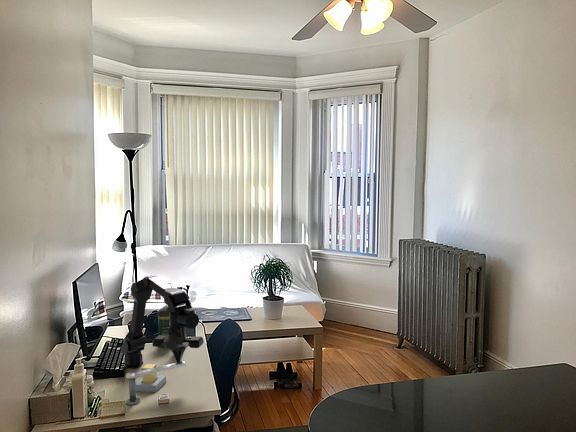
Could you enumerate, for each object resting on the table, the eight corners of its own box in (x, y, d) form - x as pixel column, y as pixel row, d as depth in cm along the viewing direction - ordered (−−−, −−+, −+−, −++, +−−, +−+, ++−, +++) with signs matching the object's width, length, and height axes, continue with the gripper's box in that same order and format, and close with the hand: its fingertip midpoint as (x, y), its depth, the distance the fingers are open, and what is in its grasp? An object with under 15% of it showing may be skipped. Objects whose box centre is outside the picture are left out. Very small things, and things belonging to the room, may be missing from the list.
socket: (133, 390, 188) (132, 384, 188) (144, 380, 197) (143, 374, 197) (156, 391, 186) (155, 385, 186) (166, 381, 196) (165, 375, 195)
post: (123, 404, 176) (121, 379, 175) (129, 398, 181) (128, 374, 180) (136, 405, 175) (135, 380, 174) (142, 399, 180) (141, 374, 179)
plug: (142, 388, 190) (141, 368, 190) (147, 383, 194) (146, 364, 194) (152, 388, 189) (151, 368, 189) (157, 384, 193) (156, 364, 193)
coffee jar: (174, 347, 237) (172, 309, 235) (157, 348, 236) (155, 310, 235) (177, 340, 246) (176, 304, 245) (161, 341, 246) (160, 305, 244)
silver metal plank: (127, 379, 175) (127, 377, 175) (124, 376, 178) (124, 373, 178) (186, 366, 186) (186, 363, 186) (182, 362, 190) (182, 360, 190)
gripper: (145, 329, 182) (146, 370, 183) (193, 330, 178) (194, 372, 180) (157, 320, 192) (159, 359, 194) (203, 321, 189) (204, 361, 191)
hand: (178, 363), depth 189 cm, fingers closed
